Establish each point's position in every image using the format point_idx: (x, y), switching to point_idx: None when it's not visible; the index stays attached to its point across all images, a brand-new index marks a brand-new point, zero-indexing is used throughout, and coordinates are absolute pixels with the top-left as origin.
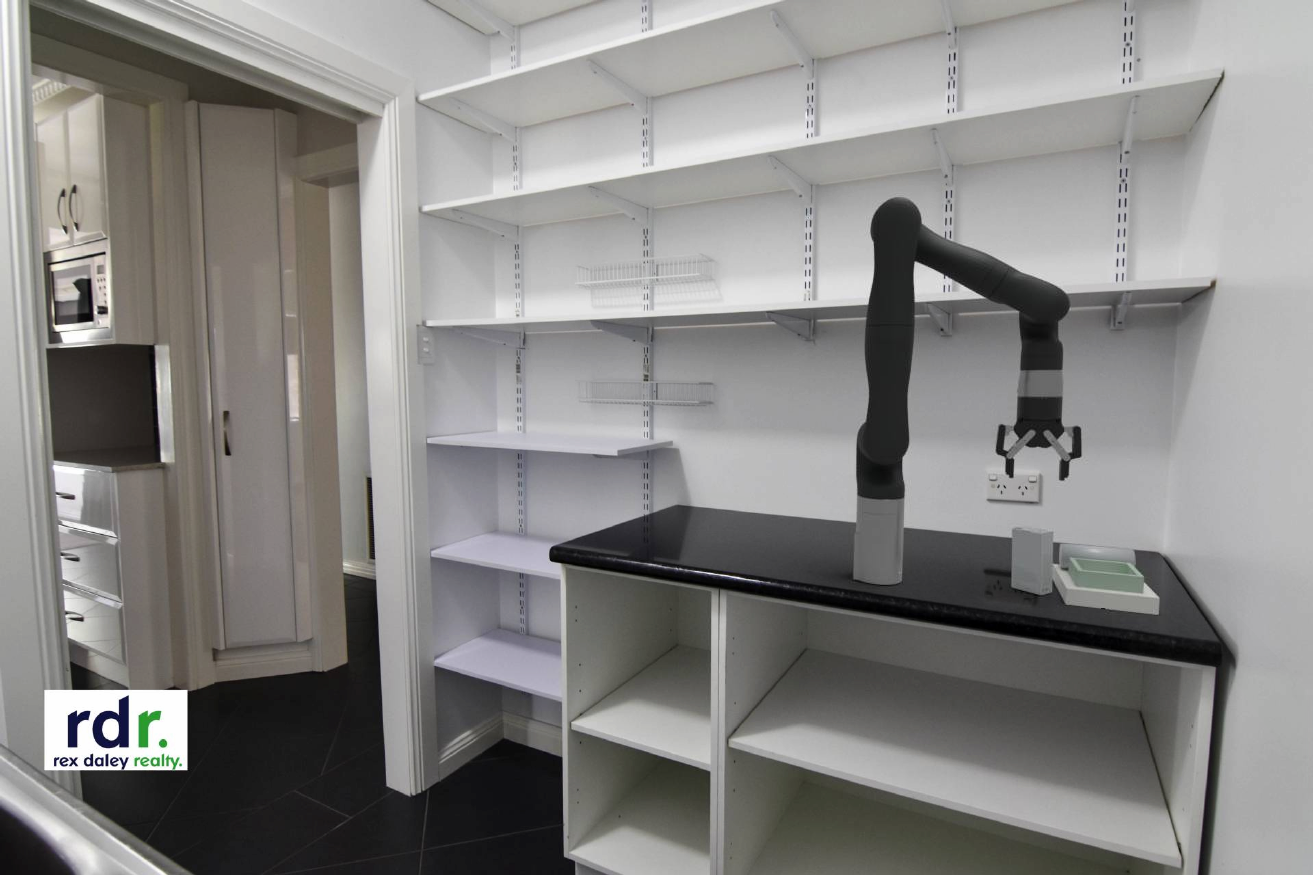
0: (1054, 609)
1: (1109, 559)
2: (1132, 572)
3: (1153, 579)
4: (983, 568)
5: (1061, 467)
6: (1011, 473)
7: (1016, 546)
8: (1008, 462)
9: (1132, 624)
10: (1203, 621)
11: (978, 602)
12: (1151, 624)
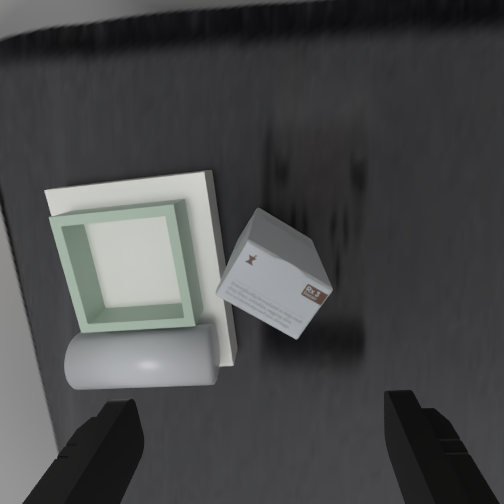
0: (231, 120)
1: (117, 337)
2: (76, 268)
3: (83, 410)
4: (364, 361)
5: (88, 462)
6: (408, 407)
7: (313, 261)
8: (469, 492)
9: (101, 95)
10: (4, 185)
11: (382, 84)
12: (73, 115)
